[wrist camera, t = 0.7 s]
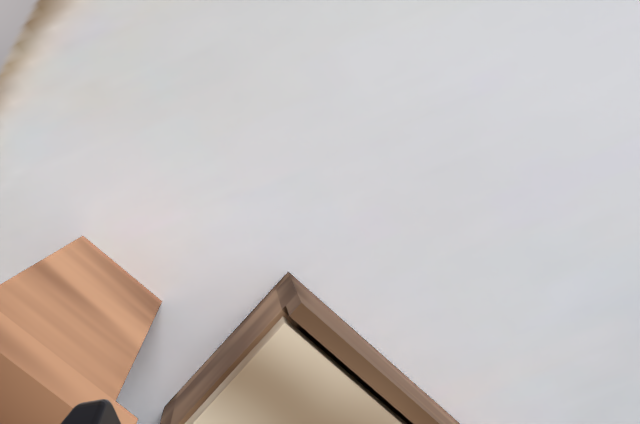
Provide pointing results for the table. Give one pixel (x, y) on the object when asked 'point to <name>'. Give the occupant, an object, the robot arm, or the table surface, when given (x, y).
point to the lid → (291, 388)
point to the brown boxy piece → (329, 335)
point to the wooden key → (69, 334)
